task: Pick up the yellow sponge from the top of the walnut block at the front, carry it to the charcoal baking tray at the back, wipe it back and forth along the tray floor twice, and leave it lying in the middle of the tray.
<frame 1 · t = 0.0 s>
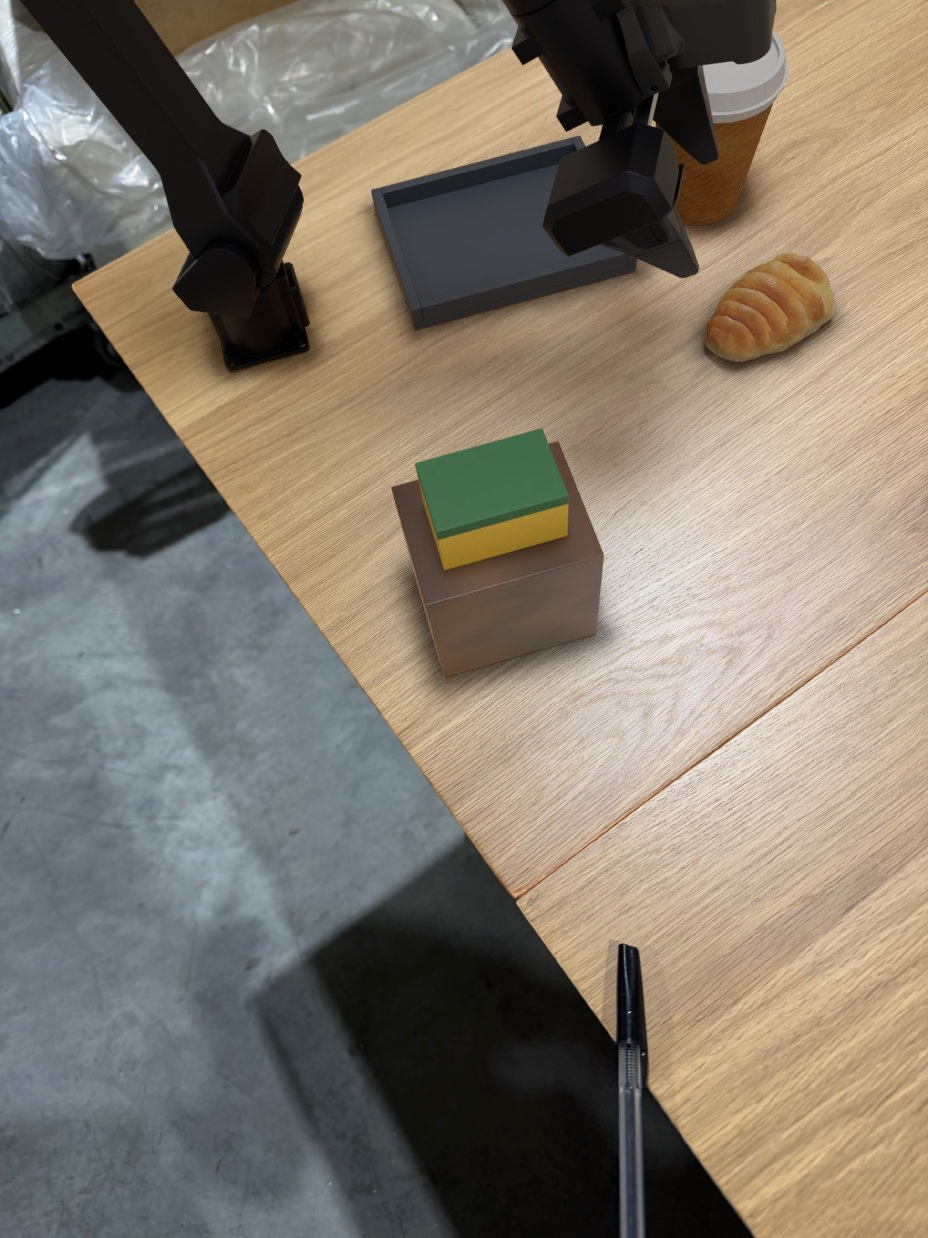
hand: (701, 215, 55), 15 cm above the table, tool tilted 35°, fingers open, 9 cm apart
cube: (502, 602, 62), on the table
sponge: (494, 519, 53), point 10 cm above the table, touching cube
disposable coffee cup: (696, 199, 77), on the table
pastry: (767, 325, 71), on the table
tray: (501, 239, 76), on the table
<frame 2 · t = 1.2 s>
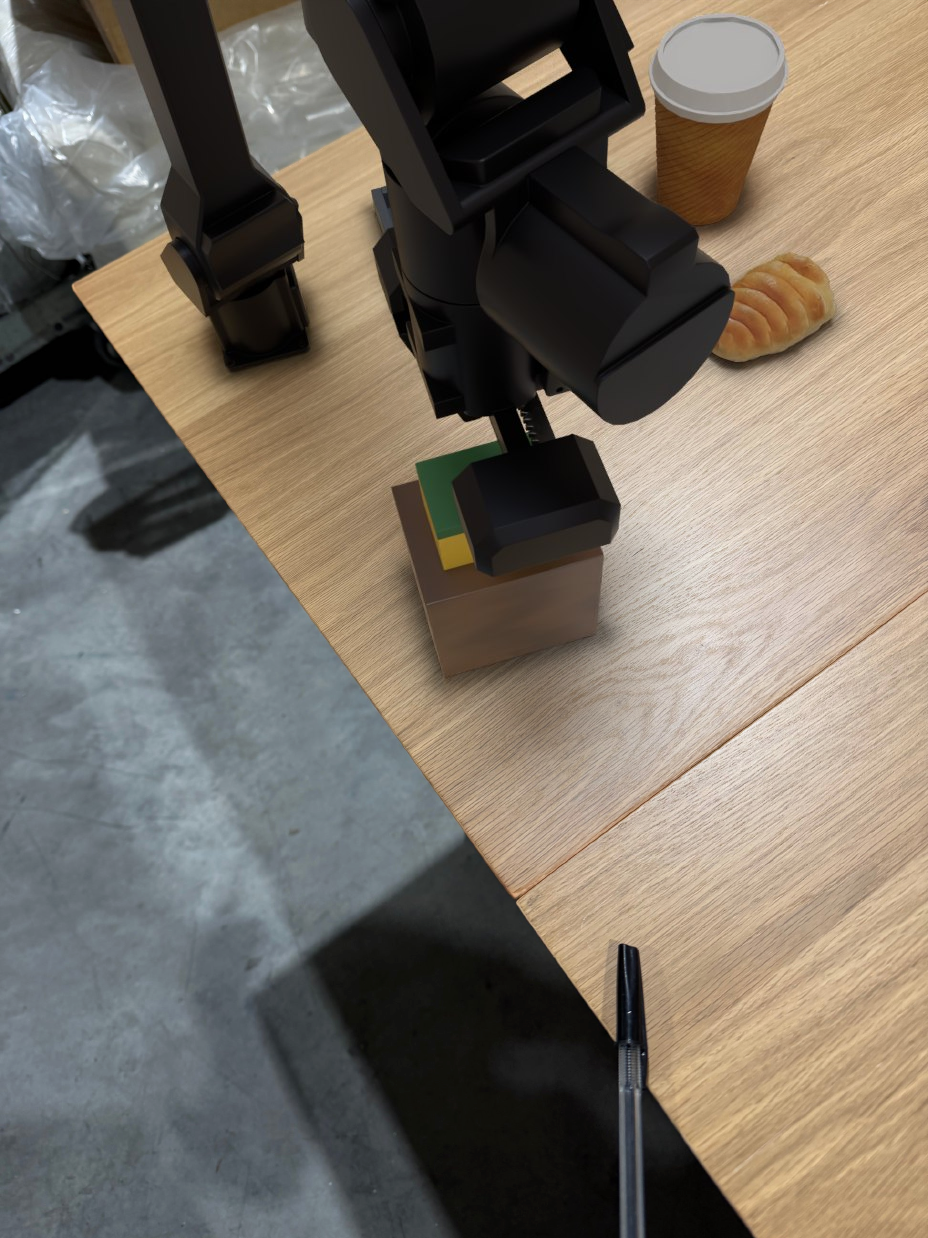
hand: (497, 484, 50), 13 cm above the table, tool pointing down, fingers open, 9 cm apart
nothing on the table moved.
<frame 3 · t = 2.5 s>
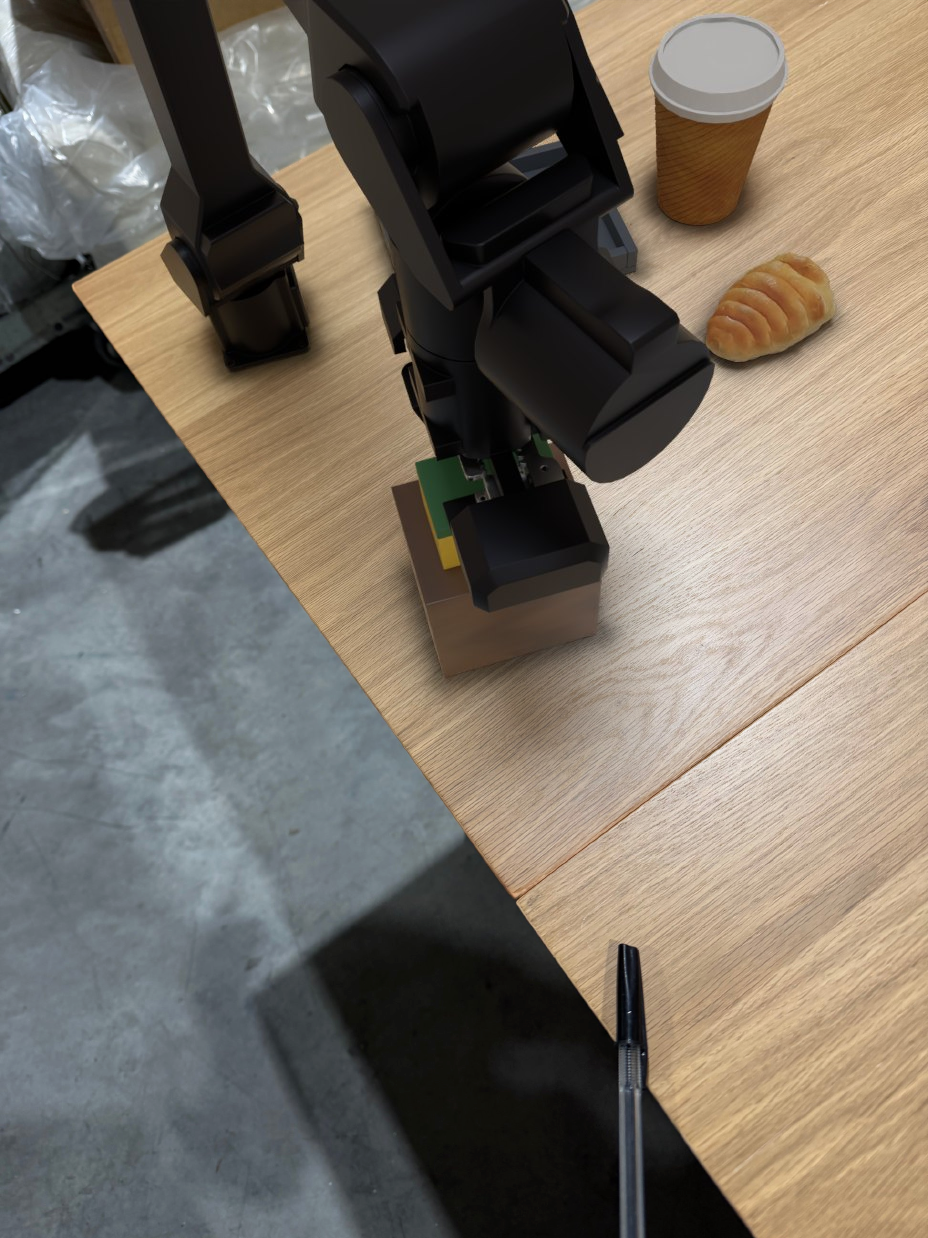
hand: (494, 514, 53), 11 cm above the table, tool pointing down, fingers closed on sponge, 4 cm apart
sponge: (494, 519, 53), point 10 cm above the table, touching gripper, cube
everything else where it was.
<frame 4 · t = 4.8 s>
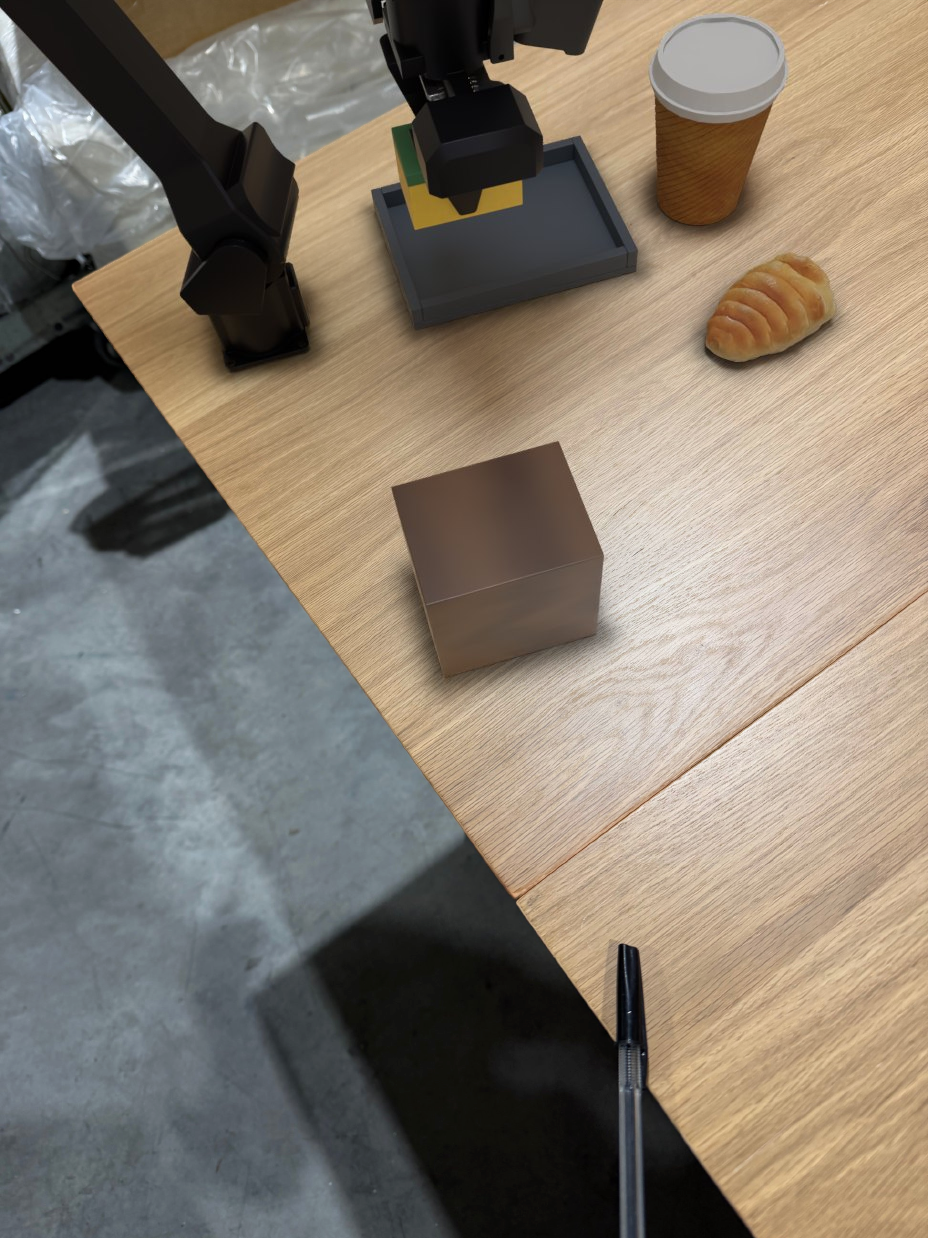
hand: (458, 187, 61), 13 cm above the table, tool pointing down, fingers closed on sponge, 4 cm apart
sponge: (460, 193, 61), point 12 cm above the table, touching gripper
everything else where it was.
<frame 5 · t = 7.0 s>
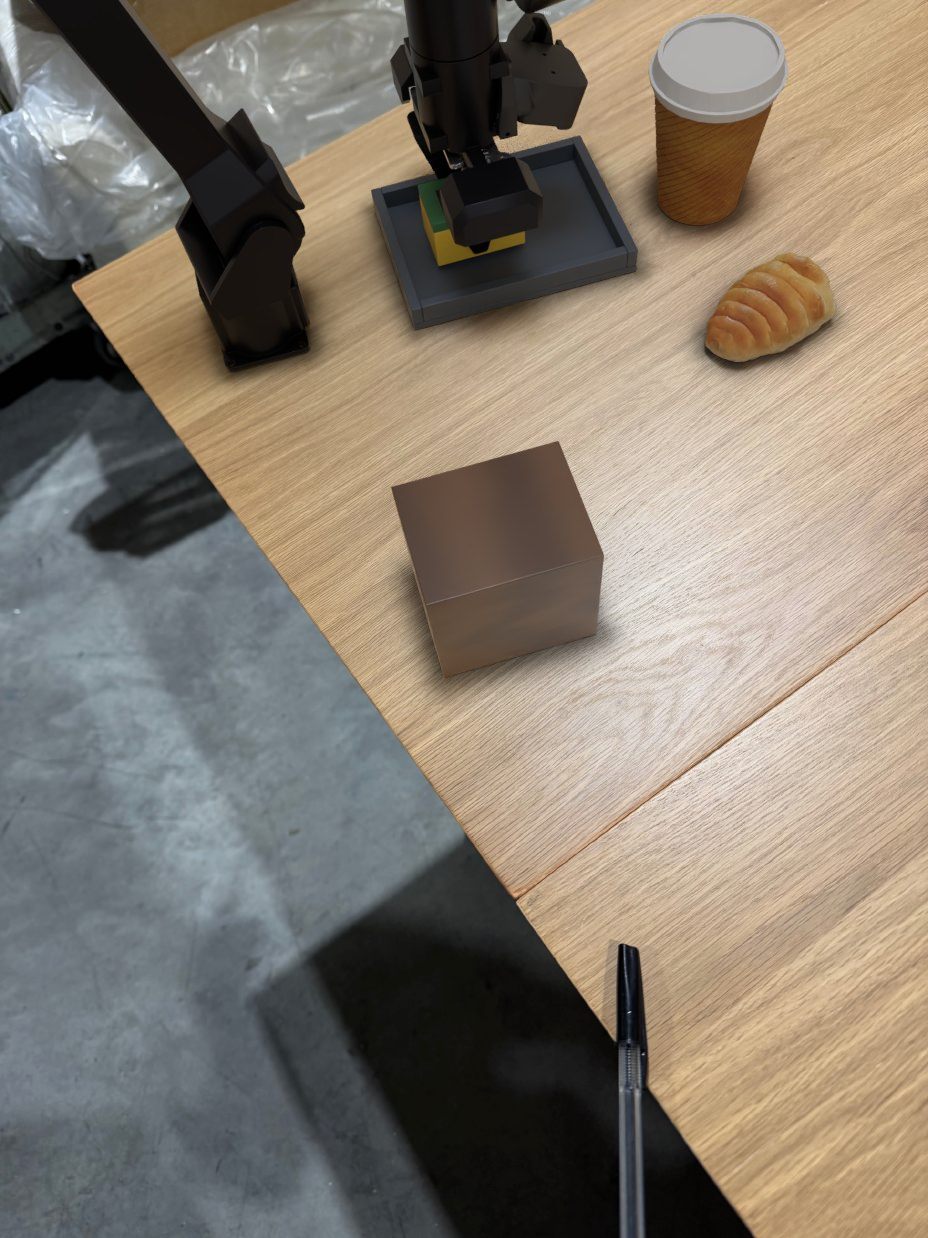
hand: (472, 230, 75), 2 cm above the table, tool pointing down, fingers closed on sponge, 4 cm apart
sponge: (474, 234, 75), point 1 cm above the table, touching gripper
everything else where it was.
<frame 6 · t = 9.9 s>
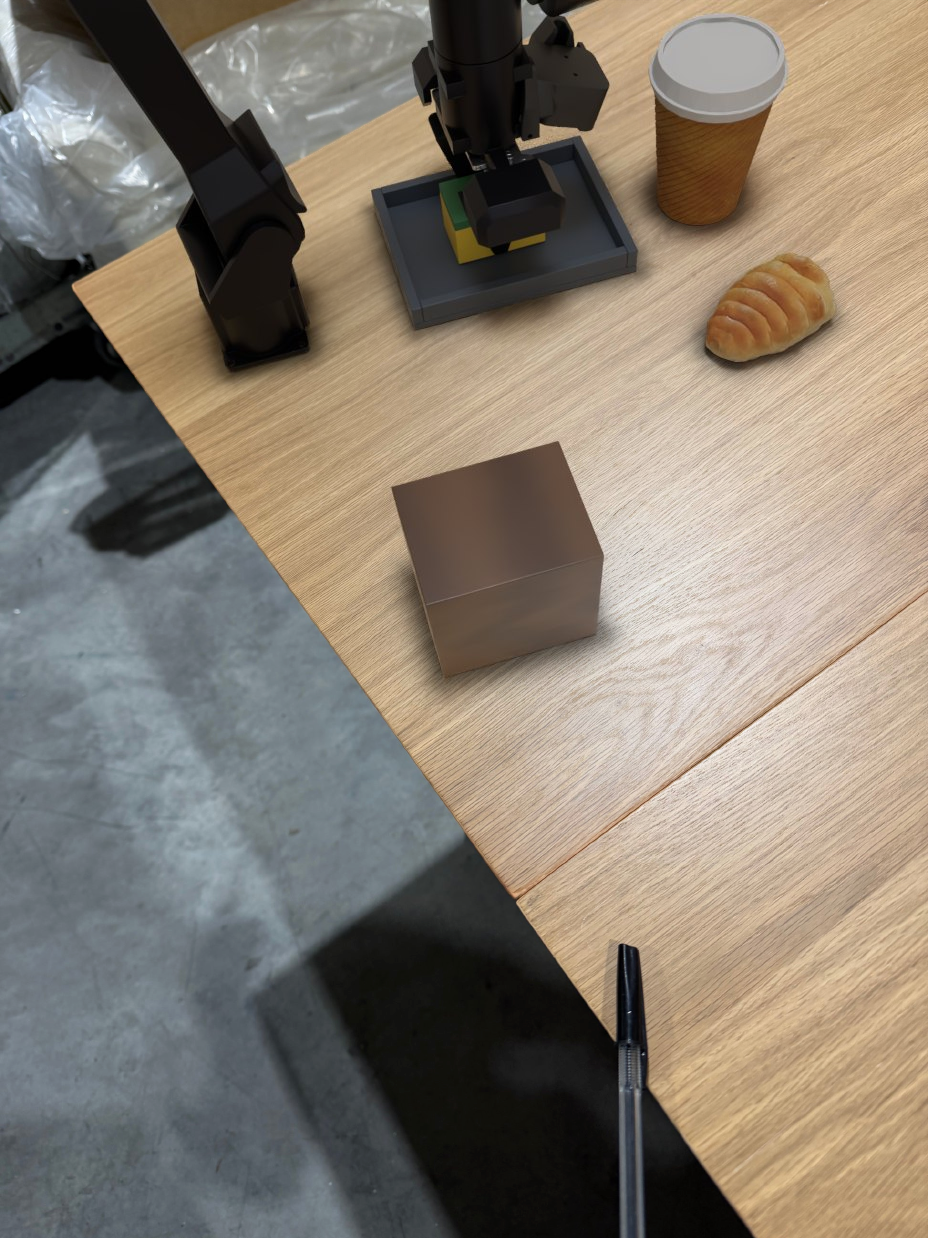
hand: (492, 231, 75), 1 cm above the table, tool pointing down, fingers closed on sponge, 4 cm apart
sponge: (494, 233, 76), point 1 cm above the table, touching gripper
everything else where it was.
when the fingers open (1 cm above the table, at t = 11.8 s): sponge stays where it is, resting on tray.
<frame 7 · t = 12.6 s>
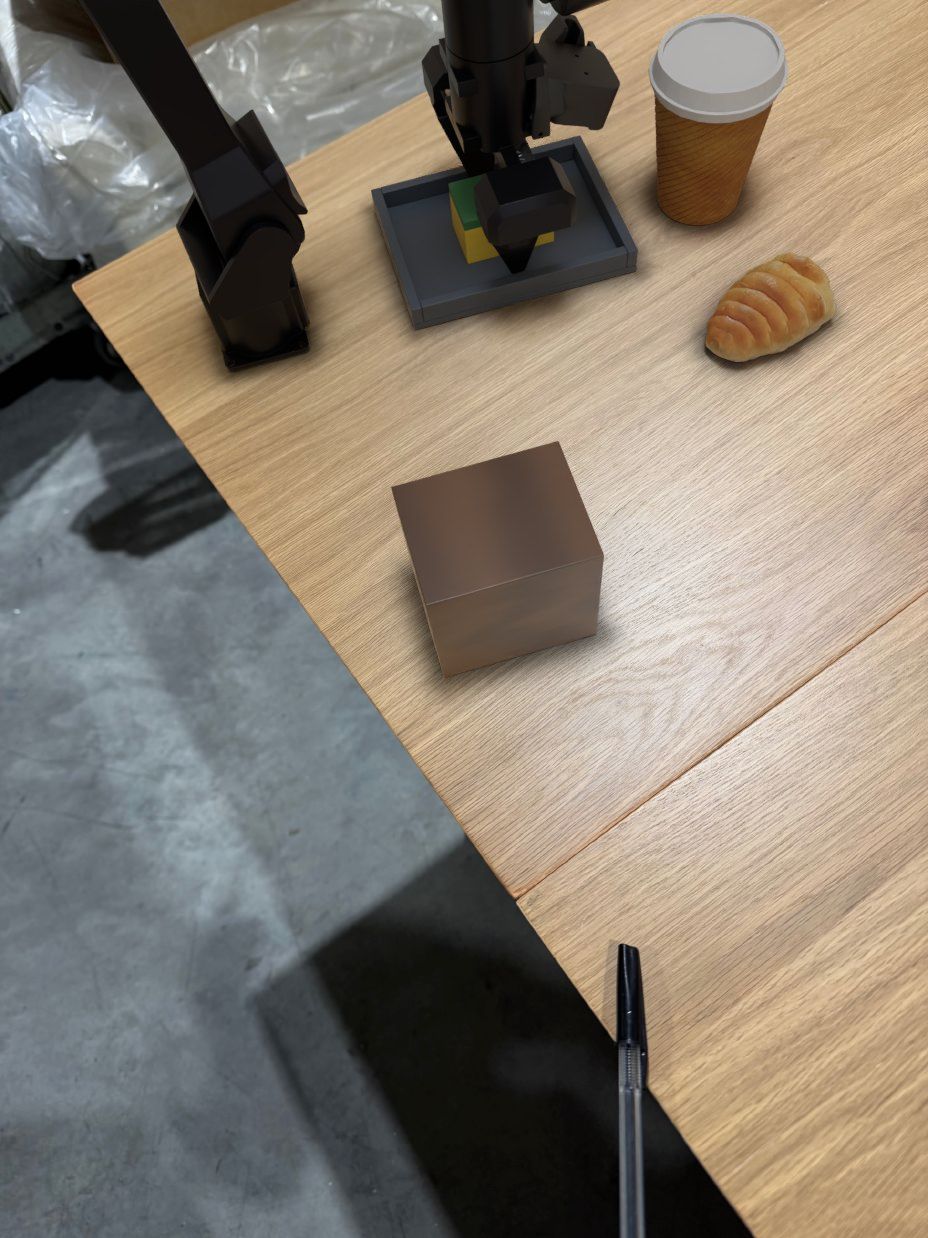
hand: (500, 230, 75), 1 cm above the table, tool pointing down, fingers open, 9 cm apart
sponge: (502, 233, 76), point 1 cm above the table, touching tray
everything else where it was.
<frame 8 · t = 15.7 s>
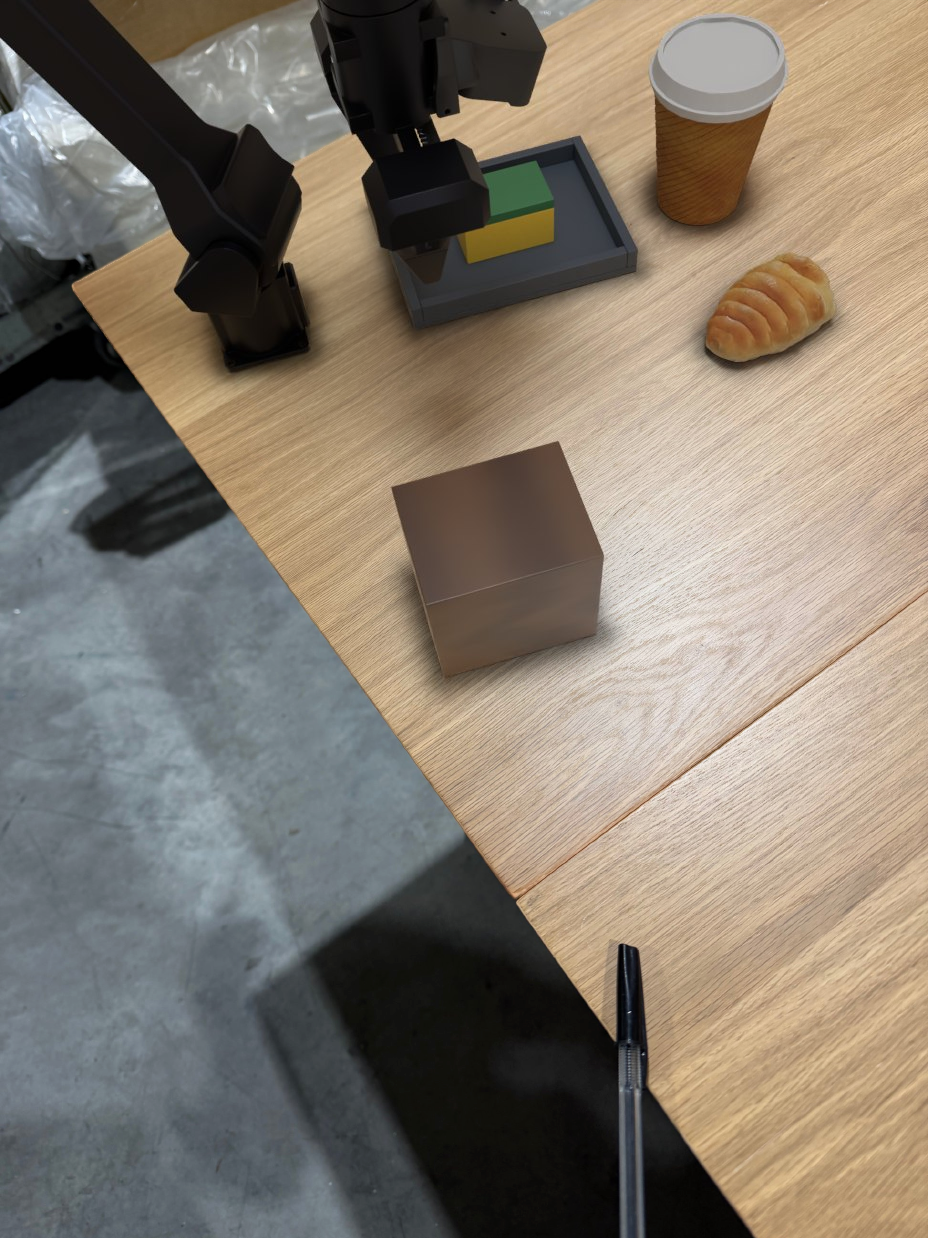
hand: (414, 231, 62), 11 cm above the table, tool pointing down, fingers open, 9 cm apart
nothing on the table moved.
at the end: sponge inside the target area in the tray (0.2 cm from its centre), point 0.6 cm above the tray's base; sponge moved 33.7 cm from its start; the gripper is holding nothing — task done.
